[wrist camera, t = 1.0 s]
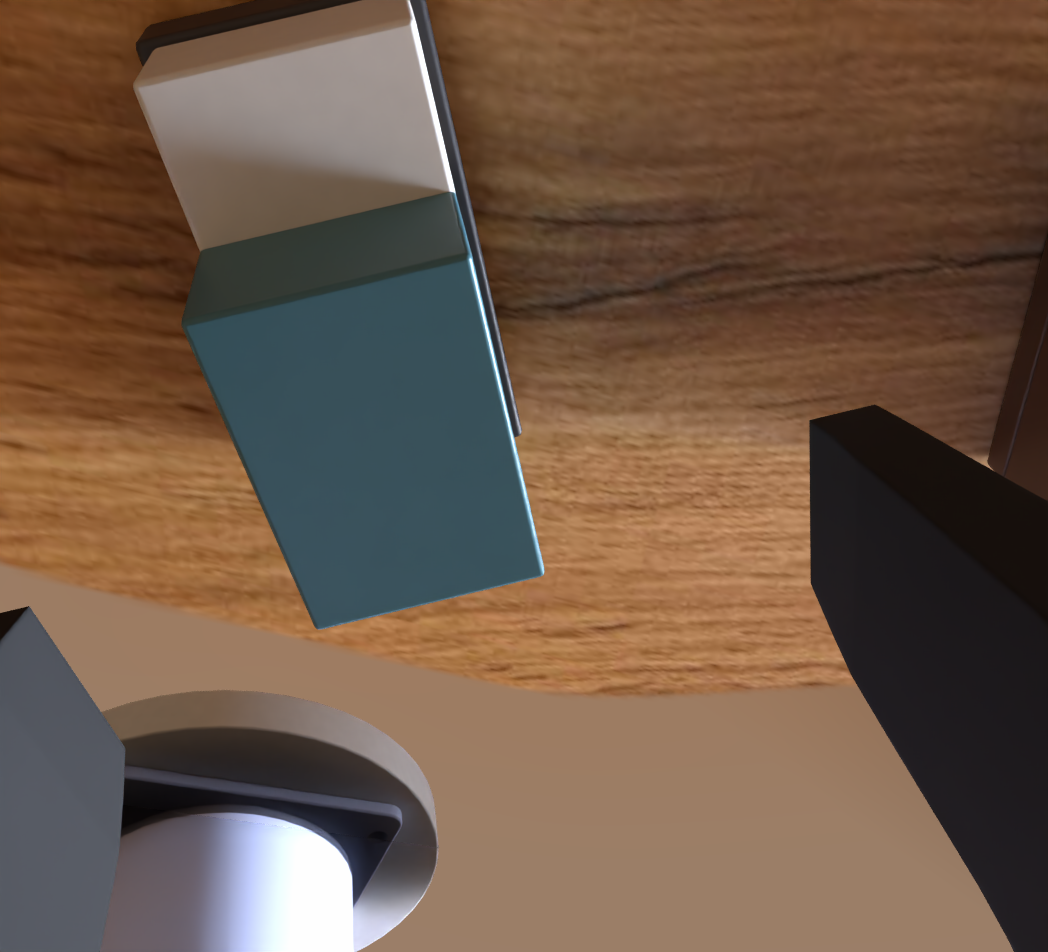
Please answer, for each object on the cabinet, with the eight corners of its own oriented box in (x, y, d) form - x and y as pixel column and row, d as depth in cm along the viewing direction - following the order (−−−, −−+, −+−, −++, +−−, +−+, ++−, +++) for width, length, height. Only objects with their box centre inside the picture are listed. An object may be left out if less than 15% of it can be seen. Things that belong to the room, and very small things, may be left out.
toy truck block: (514, 405, 17) (561, 579, 14) (311, 453, 17) (303, 642, 14) (415, -38, 13) (444, 43, 9) (144, 25, 13) (70, 131, 9)
